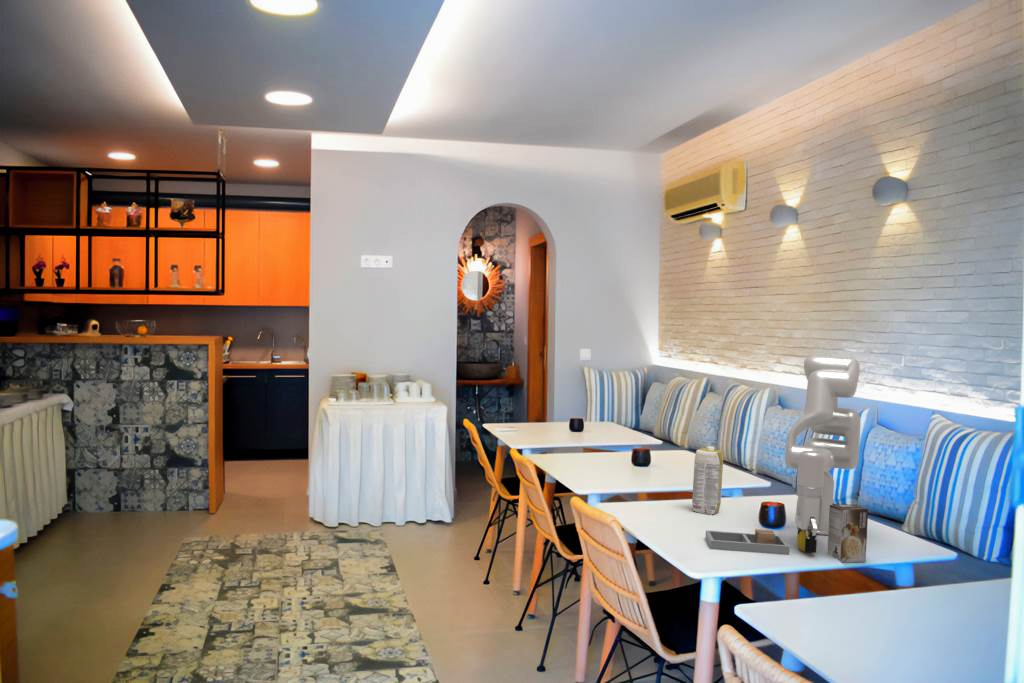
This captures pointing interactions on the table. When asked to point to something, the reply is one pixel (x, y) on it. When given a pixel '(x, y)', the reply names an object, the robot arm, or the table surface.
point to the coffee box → (847, 533)
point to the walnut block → (764, 536)
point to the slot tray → (744, 543)
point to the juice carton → (707, 480)
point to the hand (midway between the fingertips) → (806, 547)
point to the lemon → (802, 540)
